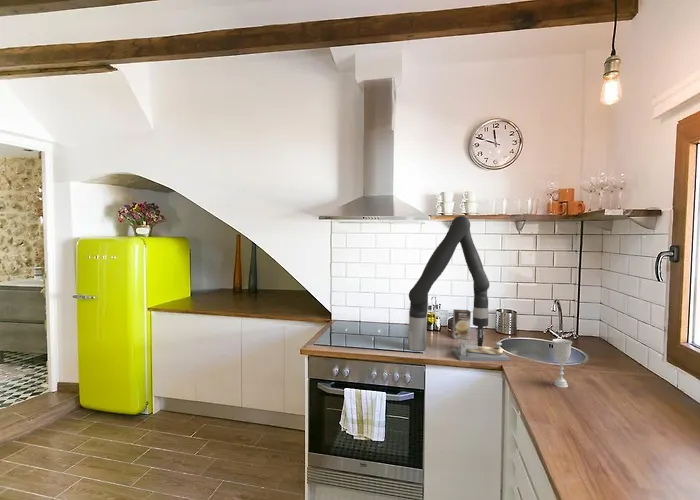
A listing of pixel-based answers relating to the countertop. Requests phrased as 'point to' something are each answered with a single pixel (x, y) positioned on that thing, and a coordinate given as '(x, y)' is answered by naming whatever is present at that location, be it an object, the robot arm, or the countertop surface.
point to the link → (487, 350)
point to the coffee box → (461, 324)
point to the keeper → (466, 346)
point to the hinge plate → (481, 355)
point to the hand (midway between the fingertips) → (479, 349)
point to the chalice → (561, 358)
